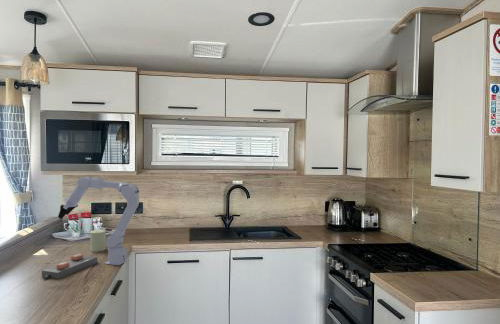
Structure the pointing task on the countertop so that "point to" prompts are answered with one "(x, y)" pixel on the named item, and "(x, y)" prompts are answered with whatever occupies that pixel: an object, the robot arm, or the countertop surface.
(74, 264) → the power strip
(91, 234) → the can
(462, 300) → the countertop surface
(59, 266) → the switch
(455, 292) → the countertop surface
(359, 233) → the countertop surface
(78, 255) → the switch
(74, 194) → the robot arm
